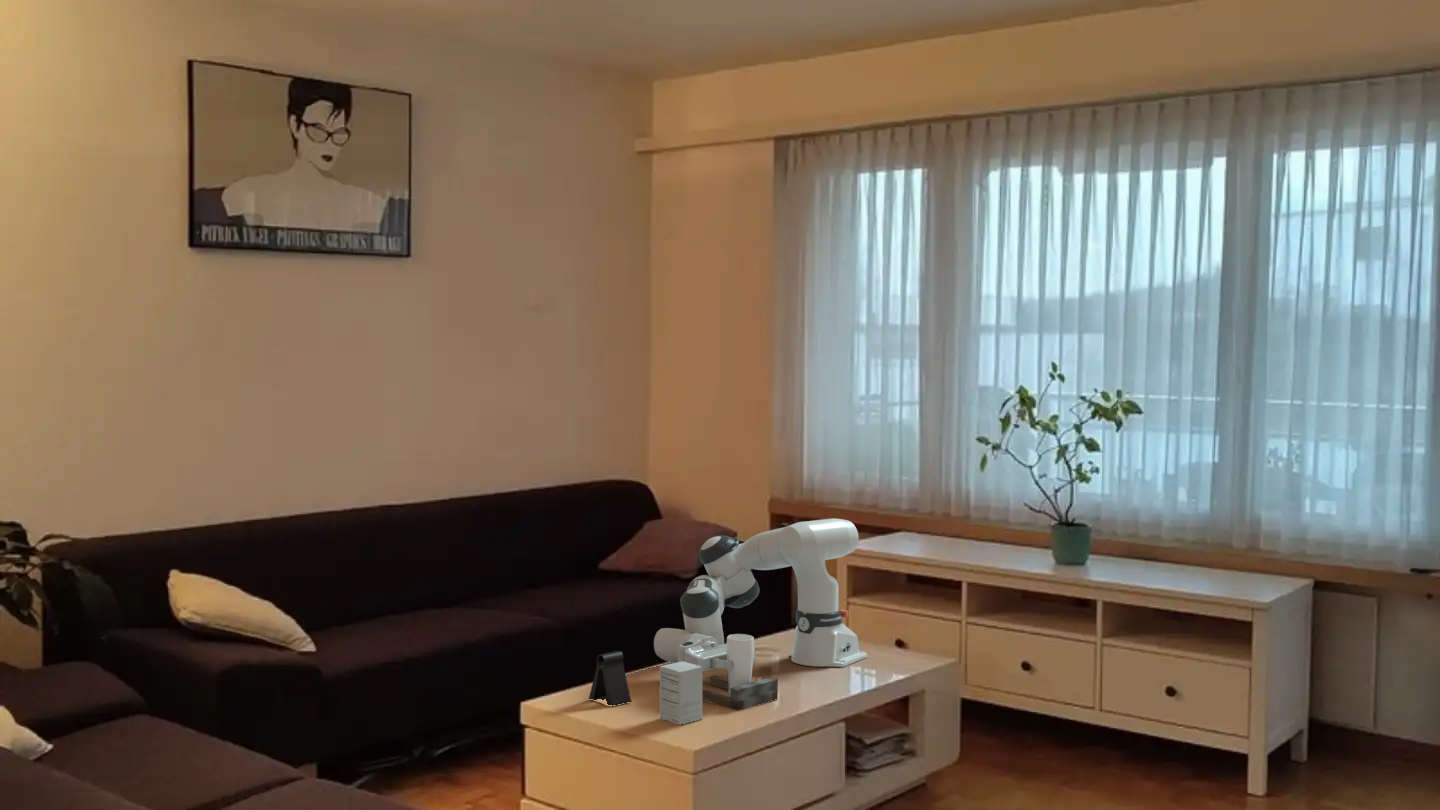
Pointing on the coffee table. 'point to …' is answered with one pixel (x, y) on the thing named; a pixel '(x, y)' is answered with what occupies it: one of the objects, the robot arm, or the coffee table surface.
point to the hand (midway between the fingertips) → (742, 662)
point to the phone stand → (610, 679)
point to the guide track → (742, 693)
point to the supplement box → (681, 692)
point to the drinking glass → (740, 659)
